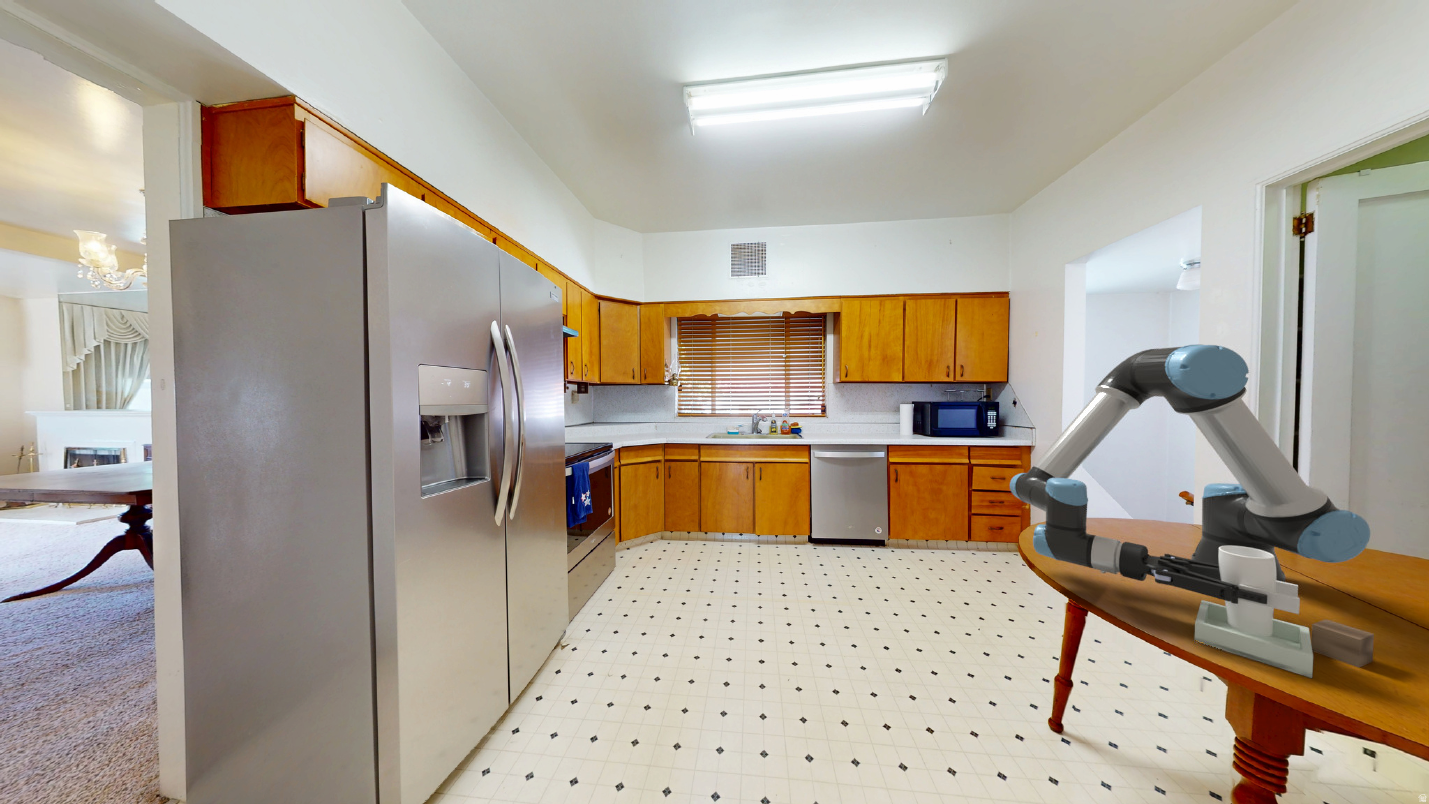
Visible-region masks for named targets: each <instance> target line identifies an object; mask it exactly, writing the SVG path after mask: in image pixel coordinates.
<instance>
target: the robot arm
mask: <svg viewBox="0 0 1429 804" xmlns="http://www.w3.org/2000/svg"><path fill="white" fill-rule="evenodd" d="M1249 373H1250V371H1249V366H1248V364H1247V363H1246V360H1245V359H1244V358H1243V357H1242V356H1241V355H1240V354H1239V353H1237V352H1236V351H1235V350H1233V349H1231V348H1228V347H1225V346H1222V345H1217V344H1189V345H1184V346H1176V347H1163V348H1162V347H1161V348H1150V349H1149V348H1148V349H1145V350H1141V351H1139V352H1136V353H1134V354H1132V355H1130V356H1129V357H1127V358H1126V359H1124V360H1123V361H1121V362H1120V363H1119V364H1118V365H1117V366H1115V367H1114V368H1113V369H1112V370H1111V371H1110V372H1109V373H1107V374H1106V375H1105V376H1104V378H1102V380H1101V381H1100V382H1099V383H1098V384H1097V386H1096V387H1095V388H1094V390H1095V395H1094V396H1093V397H1092V398H1091V400H1089V402H1087V404H1086V405H1085V406H1084V407H1083V408H1082V410H1080V412H1079V413H1078V414H1077V416H1076V417H1074V419H1073V420H1072V421H1071V423H1070V424H1069V425H1068V426H1067V427H1066V428H1065V429H1064V431H1062V432H1061V434H1060V435H1059V436H1058V437H1057V439H1055V441H1054V442H1053V443H1052V444H1051V445H1050V446H1049V448H1048V449H1047V450H1046V451H1045V452H1044V454H1042V455H1041V457H1040V458H1039V459H1038V460H1037V461H1036V463H1035V464H1033V466H1031V468H1030V469H1029V470H1028V471H1027V472H1021V473H1017V474H1016V475H1014V476H1013V477H1012V478H1011V480H1010V482H1009V490H1010V492H1011V494H1012V495H1013V496H1014V497H1015V498H1017V499H1019V500H1020V501H1021V502H1023V503H1026V504H1028V505H1031V506H1033V507H1035V508H1038V509H1039V510H1041V511H1043V512H1045V523H1044V524H1042V523H1040V524H1037V525H1036V526H1035V528H1034V531H1033V537H1032V545H1033V549H1034V551H1035V552H1036V553H1037V554H1038V555H1041V556H1044V557H1047V558H1051V559H1054V560H1056V561H1062V562H1065V563H1070V564H1074V565H1077V566H1081V567H1084V568H1085V567H1086V568H1089V569H1093V570H1098V571H1100V573H1101V574H1106V573H1110V574H1113V575H1117V574H1118V573H1119V574H1120V575H1121V576H1122V577H1124V578H1126V579H1127V578H1128V579H1132V580H1136V581H1139V582H1143V581H1145V580H1147V579H1146V578H1147V575H1148V576H1151V577H1153V578H1154V582H1155V583H1156V584H1161V585H1165V586H1172V587H1175V588H1178V589H1181V590H1187V591H1189V592H1192V593H1197V594H1201V595H1205V596H1208V597H1211V598H1216V599H1218V600H1223V601H1224V602H1225V601H1229V602H1231V603H1234V604H1238V598H1239V600H1243V601H1247V602H1251V603H1255V604H1259V605H1263V606H1267V607H1271V608H1274V609H1276V610H1280V611H1283V612H1288V613H1293V614H1296V615H1300V603H1301V602H1300V601H1301V600H1300V597H1299V595H1298V594H1299V585H1298V584H1294V583H1290V582H1286V575H1285V572H1284V571H1283V570H1282V567H1281V565H1280V560H1279V559H1278V556H1277V553H1276V552H1275V548H1277V549H1280V550H1283V551H1286V552H1289V553H1292V554H1295V555H1298V556H1301V557H1303V558H1306V559H1313V560H1316V561H1319V562H1324V563H1330V564H1337V563H1343V562H1347V561H1349V560H1352V559H1354V558H1355V557H1358V556H1359V555H1360V554H1361V553H1362V552H1363V551H1364V550H1365V549H1366V548H1367V547H1368V546H1367V545H1368V543H1369V542H1370V539H1371V528H1370V526H1369V524H1368V522H1367V520H1365V519H1364V517H1362V516H1360V514H1357V513H1355V512H1353V511H1349V510H1348V509H1347V510H1346V509H1340V508H1337V506H1335V504H1334V503H1333V502H1332V500H1331V499H1330V498H1329V496H1328V495H1327V493H1325V492H1324V491H1323V490H1322V489H1320V488H1318V487H1315V486H1314V487H1313V486H1311V485H1307V484H1306V482H1305V481H1304V480H1303V479H1302V477H1301V476H1300V475H1299V473H1298V472H1297V470H1296V469H1295V468H1294V467H1293V465H1292V464H1291V462H1289V460H1288V459H1287V457H1286V456H1285V455H1284V453H1283V452H1282V451H1281V449H1280V448H1279V447H1278V445H1277V444H1276V442H1275V441H1274V440H1273V439H1272V438H1271V436H1270V434H1269V433H1268V432H1267V431H1266V430H1265V428H1264V427H1263V426H1262V424H1261V423H1260V421H1259V420H1258V419H1257V418H1256V416H1255V415H1254V414H1253V412H1252V411H1251V409H1249V407H1248V406H1247V404H1246V403H1245V402H1244V400H1243V397H1244V396H1245V395H1246V393H1247V388H1246V385H1247V383H1248V381H1249V377H1247V375H1249ZM1154 397H1161V398H1162V397H1163V398H1164V399H1165V400H1166V401H1167V403H1168V404H1169V405H1170V407H1171V408H1172V409H1173V411H1174V412H1175V413H1177V414H1180V415H1181V414H1182V415H1186V416H1188V417H1190V419H1191V421H1192V422H1194V425H1196V427H1197V429H1199V431H1200V433H1201V434H1202V435H1203V436H1204V438H1205V439H1206V441H1207V442H1208V443H1209V444H1210V446H1211V447H1212V448H1213V450H1214V451H1215V453H1216V454H1217V455H1218V456H1219V457H1220V459H1221V461H1222V462H1223V464H1224V465H1225V466H1226V467H1227V469H1228V470H1229V472H1230V473H1231V474H1232V476H1233V477H1234V478H1235V479H1236V481H1237V482H1238V483H1221V482H1220V483H1217V482H1216V483H1215V482H1214V483H1209V484H1207V485H1206V486H1204V487H1203V494H1202V496H1201V500H1202V502H1201V504H1202V506H1201V507H1202V509H1201V511H1202V512H1201V519H1202V520H1201V539H1200V540H1199V542H1198V544H1197V546H1196V547H1195V549H1194V553H1192V554H1191V557H1190V558H1186V557H1180V556H1177V555H1172V554H1169V553H1164V554H1163V555H1160V556H1157V555H1156V556H1155V555H1150V554H1149V550H1148V547H1147V546H1146V545H1144V544H1138V543H1133V542H1129V541H1124V542H1122V543H1121V540H1119V539H1116V538H1110V537H1105V536H1101V535H1095V534H1091V533H1087V520H1088V519H1087V515H1088V503H1089V497H1088V487H1087V485H1086V483H1085V482H1083V481H1081V480H1078V479H1072V478H1070V477H1071V476H1072V475H1073V474H1074V472H1076V471H1077V470H1078V468H1079V467H1080V466H1081V465H1082V464H1083V463H1084V462H1085V460H1086V459H1087V458H1089V456H1090V454H1092V452H1093V451H1095V449H1096V448H1097V447H1098V446H1099V445H1100V444H1101V442H1102V441H1104V439H1105V438H1106V437H1107V436H1108V435H1109V434H1110V433H1111V431H1112V430H1113V429H1114V428H1115V427H1116V426H1117V425H1118V424H1119V423H1120V421H1121V420H1122V419H1123V418H1124V417H1125V416H1126V415H1127V413H1128V412H1130V410H1136V409H1138V408H1140V407H1141V406H1142V405H1143V403H1144V402H1146V401H1148V400H1149V399H1151V398H1154ZM1221 546H1242V547H1249V548H1254V549H1259V550H1263V551H1266V552H1269V553H1271V554H1273V555H1274V556H1275V562H1276V591H1275V592H1273V591H1269V590H1264V589H1260V588H1256V587H1251V586H1247V585H1242V584H1240V586H1237V585H1235V584H1231V583H1227V582H1224V581H1221V577H1220V571H1219V560H1218V553H1219V547H1221Z"/></svg>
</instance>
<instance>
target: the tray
mask: <svg viewBox="0 0 1429 804" xmlns="http://www.w3.org/2000/svg"><path fill="white" fill-rule="evenodd" d="M1311 639H1312V638H1311V633H1310V628H1309V627H1307V626H1305V625H1299V624H1295V623H1292V622H1287V621H1286V620H1285V621H1283V620H1280V619H1276V618H1273V634H1272V635H1271V636H1269V637H1259V636H1253V635H1248V634H1245V633H1242V632H1239V631H1237V630H1235V629H1233V628H1232V627H1231V626H1229V624H1228V622H1227V611H1226V605H1222V604H1219V603H1216V602H1215V603H1214V602H1211V601H1206V600H1204V599H1203V600H1202V599H1201V601H1200V604H1199V608H1198V611H1197V615H1196V619H1195V622H1194V641H1195V640H1197V641H1199V642H1203V643H1204V644H1203V645H1205V644H1206V645H1205V646H1208V645H1210V646H1209V647H1211V646H1212V647H1211V648H1214V647H1216V648H1215V649H1217V648H1218V650H1220V649H1222V650H1221V651H1223V652H1227V653H1230V654H1234V655H1237V656H1240V657H1243V658H1247V659H1249V660H1253V661H1256V662H1259V663H1263V664H1266V665H1268V666H1272V667H1276V668H1278V669H1282V670H1285V671H1288V672H1291V673H1293V674H1294V673H1295V674H1298V675H1301V676H1304V677H1307V678H1309V679H1313V670H1314V669H1313V667H1314V651H1312V646H1311Z"/></svg>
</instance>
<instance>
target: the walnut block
mask: <svg viewBox="0 0 1429 804" xmlns="http://www.w3.org/2000/svg"><path fill="white" fill-rule="evenodd" d="M1374 636H1375V634H1374V633H1371V632H1368V631H1366V630H1362V629H1358V628H1356V627H1352V626H1349V625H1346V624H1342V623H1340V622H1336V621H1333V620H1329V619H1328V618H1327V619H1326V618H1325V619H1323V620H1320V621H1317V622H1315V623H1312V624H1311V638H1310V639H1311V646H1312V652H1313V653H1317V654H1319V655H1323V656H1325V657H1328V658H1331V659H1333V660H1335V661H1336V660H1337V661H1339V662H1342V663H1345V664H1347V665H1351V666H1352V667H1353V666H1354V667H1357V668H1361V667H1364V666H1366V665H1368V664H1370V663H1372V662H1373V661H1374V659H1373V658H1374Z"/></svg>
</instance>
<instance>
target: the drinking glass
mask: <svg viewBox="0 0 1429 804" xmlns="http://www.w3.org/2000/svg"><path fill="white" fill-rule="evenodd" d="M1218 560H1219V571H1220V577H1221V581H1224V582H1227V583H1231V584H1235V585H1237V586H1240V584H1242V585H1247V586H1251V587H1256V588H1260V589H1264V590H1269V591H1273V592H1275V591H1276V562H1275V556H1274V555H1273V554H1271V553H1269V552H1266V551H1263V550H1259V549H1254V548H1249V547H1242V546H1221V547H1219V553H1218ZM1224 604H1225V605H1224V606H1226V611H1227V622H1228V624H1229V626H1231V627H1232V628H1233V629H1235V630H1237V631H1239V632H1242V633H1245V634H1248V635H1253V636H1259V637H1269V636H1271V635H1272V634H1273V619H1274V612H1275V611H1274V610H1275V608H1271V607H1267V606H1263V605H1259V604H1255V603H1251V602H1247V601H1243V600H1239V598H1238V604H1234V603H1231V602H1229V601H1225V600H1224Z"/></svg>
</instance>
